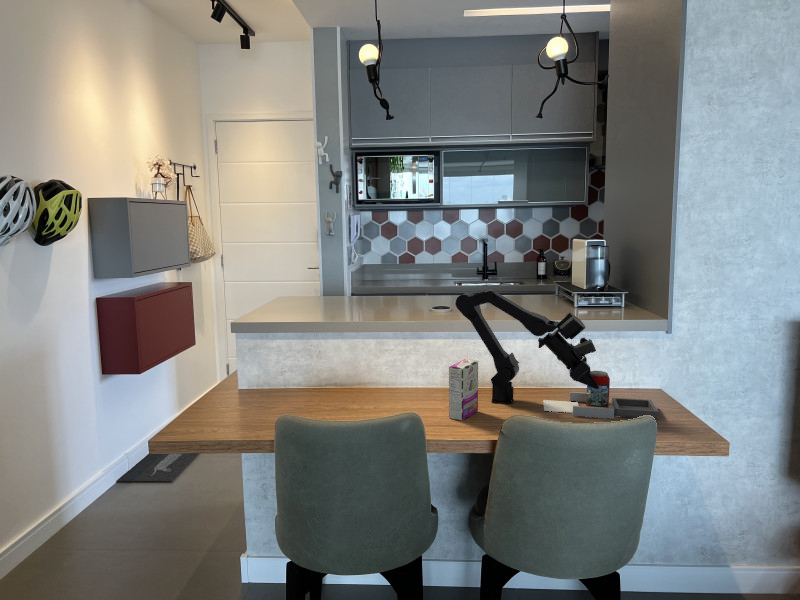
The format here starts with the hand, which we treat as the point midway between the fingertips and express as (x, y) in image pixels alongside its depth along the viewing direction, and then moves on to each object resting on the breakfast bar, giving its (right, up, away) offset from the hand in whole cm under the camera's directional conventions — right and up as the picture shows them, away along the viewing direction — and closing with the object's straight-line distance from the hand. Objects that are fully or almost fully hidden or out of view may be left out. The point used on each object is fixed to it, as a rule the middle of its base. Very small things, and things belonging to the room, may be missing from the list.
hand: (596, 384), depth 192 cm
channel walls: (-1, -8, +1) cm, 8 cm away
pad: (-10, -8, +3) cm, 13 cm away
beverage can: (+1, -8, +1) cm, 9 cm away
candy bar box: (-42, -9, -4) cm, 44 cm away
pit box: (+11, -9, -1) cm, 14 cm away
